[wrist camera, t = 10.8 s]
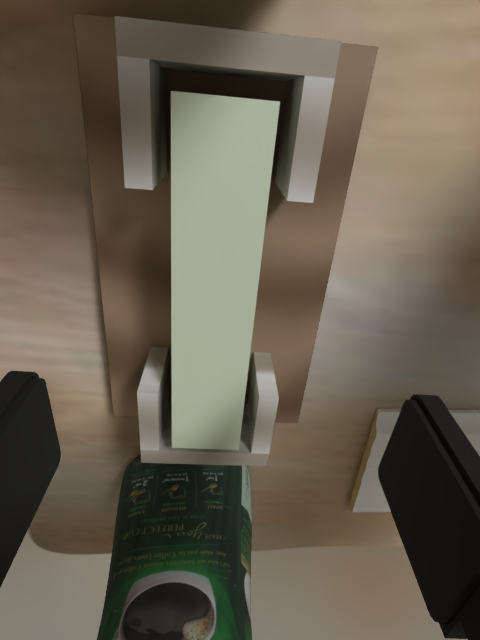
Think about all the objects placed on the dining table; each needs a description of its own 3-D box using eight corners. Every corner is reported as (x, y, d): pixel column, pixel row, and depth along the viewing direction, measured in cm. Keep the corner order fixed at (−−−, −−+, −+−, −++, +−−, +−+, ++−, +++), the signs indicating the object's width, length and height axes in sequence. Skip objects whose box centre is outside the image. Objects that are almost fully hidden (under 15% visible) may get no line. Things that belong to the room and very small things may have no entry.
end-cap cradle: (85, 20, 16) (25, -16, 11) (365, 51, 17) (422, 30, 12) (119, 400, 26) (95, 467, 21) (293, 407, 27) (309, 473, 22)
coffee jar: (137, 512, 32) (47, 930, 16) (119, 445, 28) (-23, 908, 12) (252, 506, 32) (281, 913, 16) (251, 438, 28) (286, 887, 12)
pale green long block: (183, 93, 16) (170, 90, 12) (266, 102, 16) (280, 101, 12) (180, 391, 24) (171, 447, 20) (236, 393, 24) (238, 450, 20)
